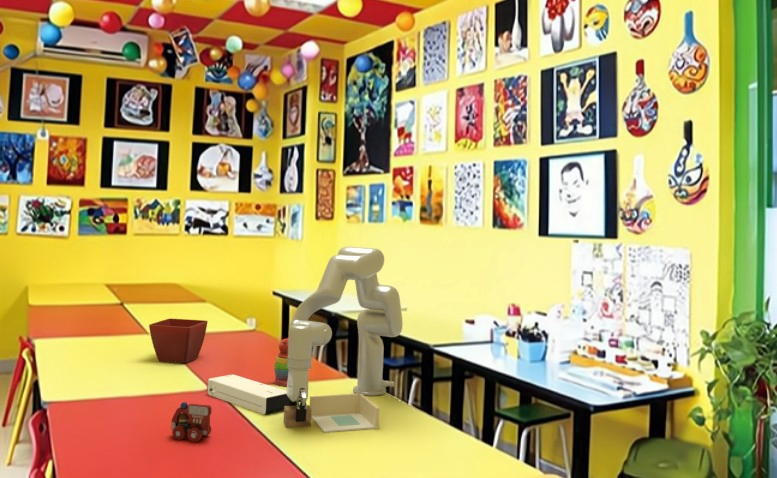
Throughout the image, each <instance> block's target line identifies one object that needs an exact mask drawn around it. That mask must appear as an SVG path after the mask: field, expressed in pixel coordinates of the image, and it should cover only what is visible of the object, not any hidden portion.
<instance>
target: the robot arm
mask: <svg viewBox="0 0 777 478" xmlns="http://www.w3.org/2000/svg"><path fill="white" fill-rule="evenodd" d="M384 264H385V255H384V253H383V251H381V249H379V248H373V247H362V246H344V247H342V248H340V249H339V250H338V252H337V254H335V255H332V256H331V257H330V258H329V260H328V262H327V264H326V267H325V269H324V272H323V274H322V277H321V280H320V282H319V285H318V287H317V289H316V291H315V292H313V293H312V294H311V295H309V296H308V297H307V298H306V299H304V300H303V301H302V302H301V303H300V304H299V305H298V306H297V308H296V309H295V312H294V313H293V316H292V319H291V321H290V325H289V329H288V338H289V339H288V362H287V368H288V369H289V372H288V381H287V387H286V391H287V396H288V397H289V400H291V401H289V406H297V409H296V420H295V421H296V422H305V421H306V408H307V407H306V405H307V401H308V397H309V370H311V369H312V355H313V354H312V353H313V352H312V351H313V349H312V348H313V347H315V346H318V347H319V346H324V345H327V344H329V342H330V341H331V339H332V336H333V331H332V328H331V327H330V325H329V324H327V323H325V322H320V321H314V320H309V318H310V317H311V316H312V315H313V314H314V313H316V312H317V311H319V310H321V309H325V308H326V307H330V306H331V305H335V304H337V303H339V301H340V300H341V298H342V295H343V293H344V290H345V287H346V285H347V283H348V281H349V280H350V281H354V283H355V290H356V296H357V300H358V304H359V306H360V307H361V308H363V309H364V310H362V311H360V313H358V315H357V317H356V318H357V322H356V325H357V330H358V331H357V333H358V361H357V363H358V364H357V385H355V386H353V388H352V392H353V393H354V394H357V393H362V394H363V395H364V396H368V397H369V396H382V395H384V394H386V392H387V387H389V388H390V387H394V386H395V382H394V381H389V380H384V379H383V372H384V371H383V370H384V369H383V368H384V350H385V348H384V342H383V340H382V339H381V337H388V338H396V337H398V336H400V334H401V333H402V330H403V323H404V322H403V314H402V305H401V299H400V294H399V291H398V290H397V288H396V287H394V286H392V285H385V284H381V283H379V278H378V275H377V273H379V272H380V271H381V270H382V268H383V266H384Z"/></svg>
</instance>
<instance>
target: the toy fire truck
mask: <svg viewBox="0 0 777 478" xmlns="http://www.w3.org/2000/svg"><path fill="white" fill-rule="evenodd" d="M211 415H212V406H211V405H208V404H199V403H189V404H188V403H187V401H184V402H181V403H180V407H178V408H177V409H176V410H175V412H174V414H173V417H172V418H171V430H172V433H171V435H172V437H173V438H174V439H175V440H177V441H182V440H183V439H185V438H186V436H187V438H188V440H189V441H190V442H191V443H197V442H199V441H201V439H202V436H204V437H207V436H210V434H211V433H212V427H211Z"/></svg>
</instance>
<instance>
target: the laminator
mask: <svg viewBox="0 0 777 478" xmlns="http://www.w3.org/2000/svg"><path fill="white" fill-rule="evenodd" d="M207 395H208V396H210V397H213V398H216V399H219V400H222V401H223V402H224V401H225V402H227V403H230V404H233V405H235V406H238V407H241V408H244V409H247V410H249V409H250V411H253V412H256V413H258V414H261V415H270V414H273V413H278V412H282V411H283V412H284V406H289V401H291V400H289V397H288V396H287V390H284V389H282V388H278V387H274V386H272V385H269V384H266V383H261V382H259V381H255V380H252V379H249V378H246V377H243V376H239V375H236V374H233V373H232V374H226V375H222V376H216V377H215V376H214V377H210V378H208V379H207Z"/></svg>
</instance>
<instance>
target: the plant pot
mask: <svg viewBox="0 0 777 478" xmlns="http://www.w3.org/2000/svg"><path fill="white" fill-rule="evenodd" d="M207 327H208V320H202V319H185V318H166V319H162V320H159V321H156V322H153V323H149V326H148V328H149V334H150V338H151V342H152V346H153V349H154V352H155V355H156V358H157V360H158V362H160V363H173V364H187V363H189V362H191V361H193V360H195V359H198V358H199V355H200V352H201V349H202V347H203V343H204V340H205V337H206V332H207Z"/></svg>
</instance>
